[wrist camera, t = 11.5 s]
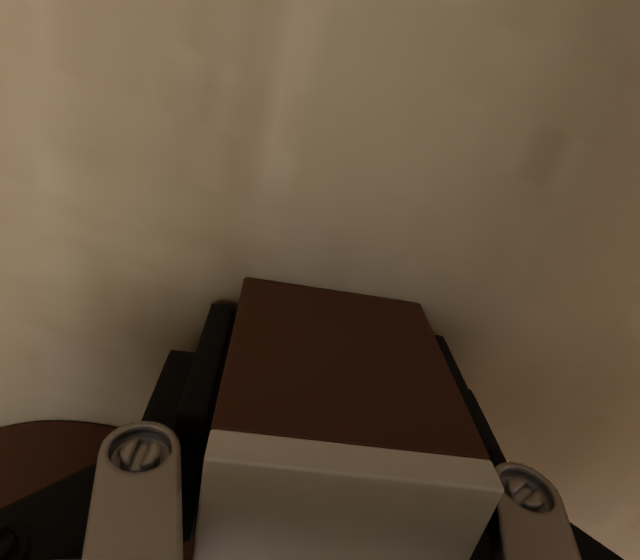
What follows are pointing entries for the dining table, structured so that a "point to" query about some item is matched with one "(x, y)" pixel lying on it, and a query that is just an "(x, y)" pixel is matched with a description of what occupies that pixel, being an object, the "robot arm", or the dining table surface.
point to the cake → (50, 458)
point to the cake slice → (339, 436)
